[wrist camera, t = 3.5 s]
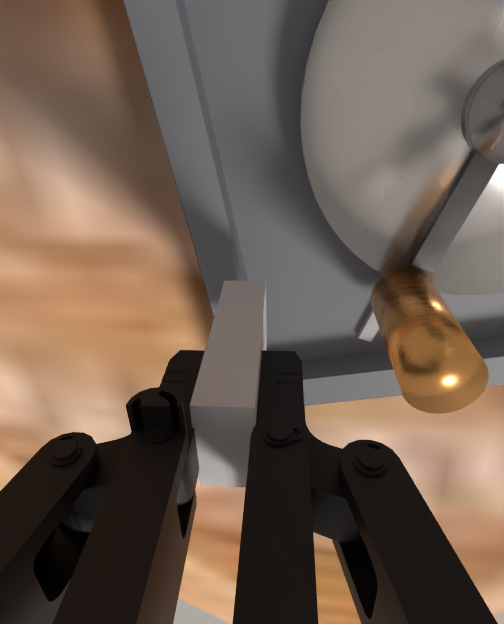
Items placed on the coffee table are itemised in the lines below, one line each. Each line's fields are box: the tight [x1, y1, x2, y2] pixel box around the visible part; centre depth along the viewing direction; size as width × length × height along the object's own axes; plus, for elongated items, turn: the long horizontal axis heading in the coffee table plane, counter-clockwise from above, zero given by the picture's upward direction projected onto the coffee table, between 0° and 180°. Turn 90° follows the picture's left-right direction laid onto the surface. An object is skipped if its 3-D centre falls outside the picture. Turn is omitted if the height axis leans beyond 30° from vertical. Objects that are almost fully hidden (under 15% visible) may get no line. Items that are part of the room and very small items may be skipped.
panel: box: [123, 0, 504, 406], centre depth 14 cm, size 22×22×3 cm
